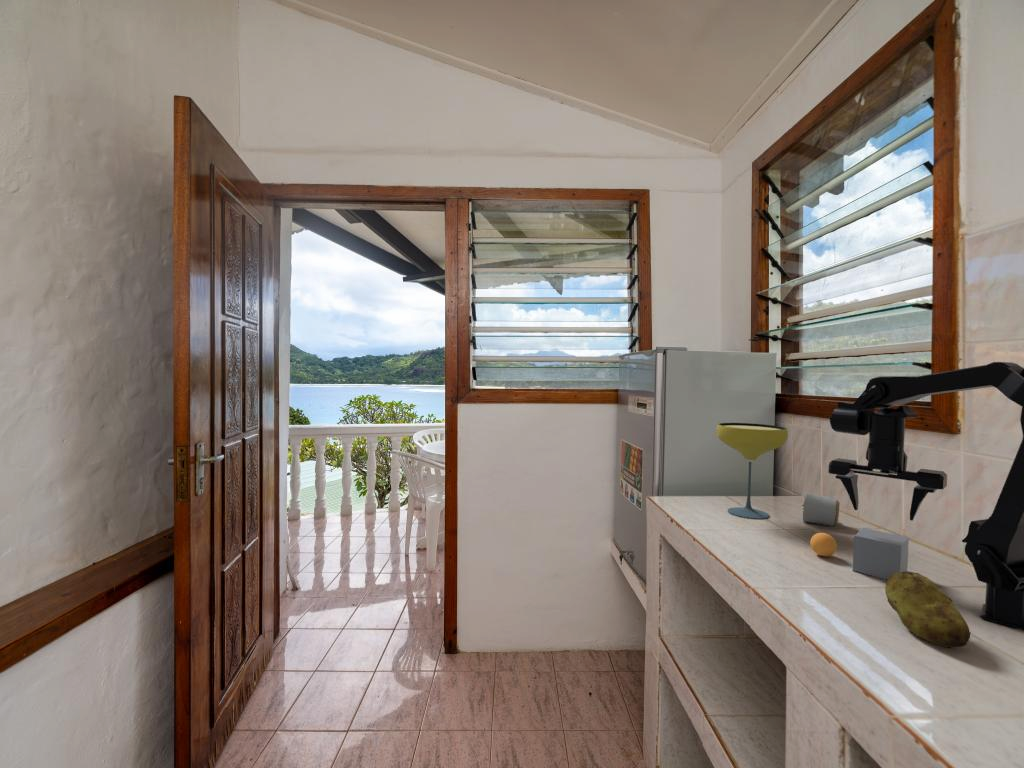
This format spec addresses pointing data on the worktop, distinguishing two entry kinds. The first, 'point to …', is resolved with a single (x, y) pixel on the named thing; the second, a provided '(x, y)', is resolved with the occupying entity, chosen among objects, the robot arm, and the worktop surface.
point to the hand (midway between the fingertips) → (883, 514)
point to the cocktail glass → (751, 452)
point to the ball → (823, 544)
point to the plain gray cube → (880, 553)
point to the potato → (926, 610)
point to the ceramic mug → (820, 510)
